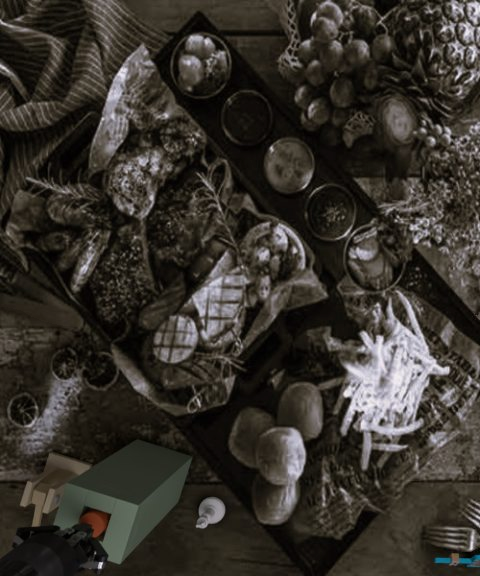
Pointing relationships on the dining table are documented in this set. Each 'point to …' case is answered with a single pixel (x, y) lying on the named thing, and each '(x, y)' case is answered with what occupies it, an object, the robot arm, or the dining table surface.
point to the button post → (126, 494)
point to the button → (96, 520)
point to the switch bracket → (54, 479)
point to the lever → (39, 502)
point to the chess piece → (210, 511)
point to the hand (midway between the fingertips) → (85, 529)
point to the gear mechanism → (459, 560)
